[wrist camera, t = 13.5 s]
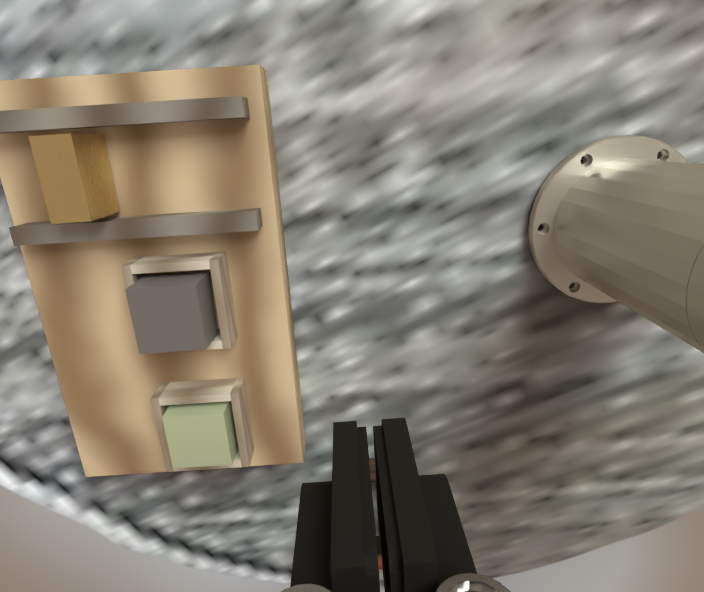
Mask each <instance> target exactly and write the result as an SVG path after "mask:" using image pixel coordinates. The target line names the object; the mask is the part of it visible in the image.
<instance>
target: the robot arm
mask: <svg viewBox="0 0 704 592" xmlns="http://www.w3.org/2000/svg"><path fill="white" fill-rule="evenodd" d="M657 154H658V156H657ZM581 157H583V159H584V160H583V162H582V163H581V162H580V160H581ZM540 224H542V228H541V229H540V230H538V227H539V225H540ZM528 233H529V244H530V249H531V252H532V256H533V259H534V261H535V263H536V265H537V267H538V269H539V270H540V272H541V273H542V275H543V276H544V277H545V278H546V279H547V280H548V281H549V283H551V284H552V285H553V286H555V287H556V288H557V289H559V290H560V291H562V292H563V293H565V294H566V295H568V296H570V297H573V298H576V299H579V300H582V301H585V302H593V303H612V302H620V303H621V304H623V305H625V306H626V307H628V308H630V309H631V310H633V311H635V312H636V313H638V314H640V315H641V316H643V317H645V318H646V319H648V320H650V321H651V322H653V323H655V324H656V325H658V326H660V327H661V328H663V329H665V330H666V331H668V332H670V333H671V334H673V335H675V336H676V337H678V338H680V339H681V340H683V341H685V342H686V343H688V344H690V345H691V346H693V347H695V348H696V349H698V350H700V351H701V352H703V353H704V164H695V163H688V162H687V161H686V159H685V158H684V157H683V156H682V155H681V154H680V153H679V152H677V151H676V150H675V149H674V148H673V147H671V146H669V145H667V144H665V143H663V142H661V141H660V140H656V139H653V138H649V137H645V136H632V135H626V136H612V137H608V138H604V139H600V140H596V141H594V142H592V143H590V144H587V145H585V146H583V147H581V148H579V149H578V150H576V151H575V152H573V153H572V154H570V155H569V156H568V157H566V158H565V159H564V160H563V161H562V162H561V163H560V164H559V165H558V166H557V167H556V168H555V169H554V170H553V171H552V172H551V173H550V175H549V176H548V177H547V179H546V180H545V182H544V183H543V184H542V186H541V188H540V190H539V192H538V194H537V196H536V198H535V200H534V204H533V207H532V211H531V214H530V220H529V230H528ZM571 283H572V285H571V286H570V284H571ZM373 432H374V451H375V471H376V490H377V509H378V526H379V537H380V548H381V558H382V568H383V578H384V588H385V592H510V591H509V590H508V589H507V588H506V587H504V586H503V585H502V584H501V583H500V582H498V581H495V580H494V579H492V578H489V577H487V576H484V575H479V574H477V572H476V569H475V566H474V562H473V559H472V556H471V553H470V550H469V547H468V543H467V540H466V537H465V534H464V531H463V527H462V524H461V521H460V518H459V515H458V511H457V508H456V505H455V502H454V499H453V495H452V492H451V489H450V486H449V483H448V480H447V477H446V475H445V474H436V475H421V476H419V475H418V471H417V467H416V462H415V458H414V454H413V449H412V445H411V441H410V437H409V432H408V428H407V424H406V420H405V418H394V419H382V426H373ZM282 592H380V584H379V568H378V554H377V543H376V532H375V521H374V510H373V499H372V488H371V476H370V465H369V454H368V443H367V432H366V427H357V421H348V422H334V425H333V470H332V481H329V482H314V483H303V484H302V487H301V494H300V504H299V513H298V522H297V531H296V540H295V549H294V558H293V568H292V577H291V587H290V588H287V589H284V590H283V591H282Z"/></svg>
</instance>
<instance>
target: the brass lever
mask: <svg viewBox="0 0 704 592" xmlns="http://www.w3.org/2000/svg"><path fill="white" fill-rule="evenodd" d="M28 137H29V141H30V145H31V149H32V152H33V156H34V160H35V164H36V168H37V172H38V175H39V179H40V183H41V187H42V191H43V195H44V198H45V202H46V206H47V210H48V214H49V218H50V221H51V224H57V223H72V222H88V221H94V220H96V219H99V218H102V217H105V216H108V215H111V214H114V213H117V212H120V208H119V204H118V199H117V194H116V190H115V185H114V180H113V176H112V171H111V166H110V161H109V157H108V152H107V147H106V143H105V138H104V134H73V133H70V134H54V135H38V136H28Z"/></svg>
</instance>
